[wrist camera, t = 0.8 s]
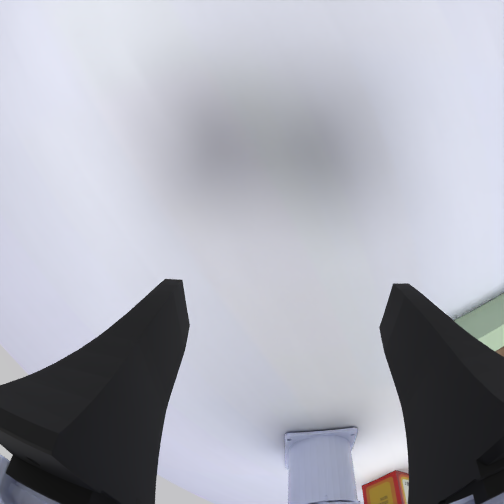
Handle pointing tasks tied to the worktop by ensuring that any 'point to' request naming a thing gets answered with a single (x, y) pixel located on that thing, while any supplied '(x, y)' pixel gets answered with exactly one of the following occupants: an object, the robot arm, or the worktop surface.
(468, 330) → the green long rectangular block
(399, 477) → the baking soda box
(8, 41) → the worktop surface
